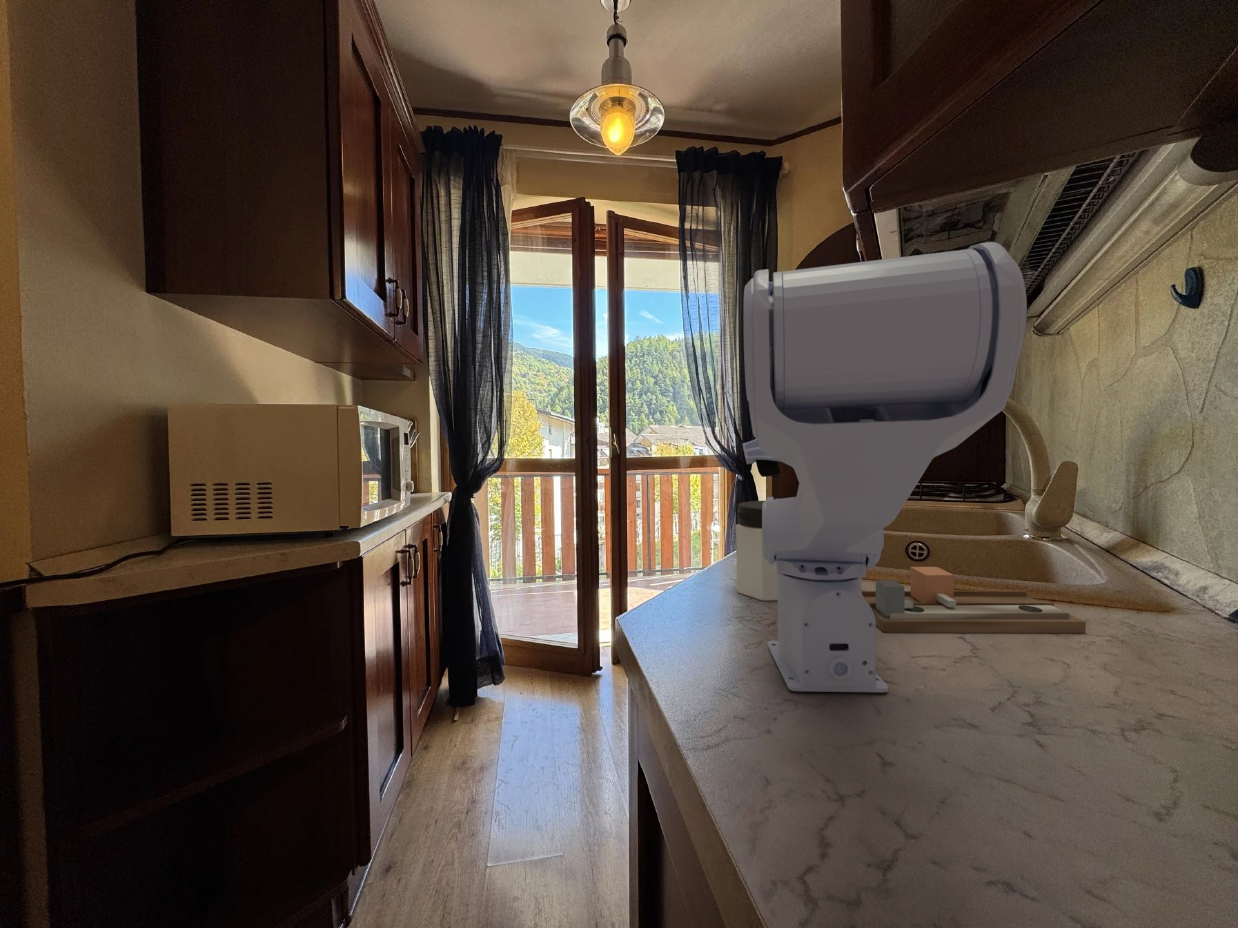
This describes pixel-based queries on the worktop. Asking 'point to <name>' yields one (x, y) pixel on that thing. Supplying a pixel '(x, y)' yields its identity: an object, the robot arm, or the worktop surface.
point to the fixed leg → (890, 598)
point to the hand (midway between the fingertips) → (804, 465)
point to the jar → (753, 555)
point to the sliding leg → (932, 585)
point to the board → (978, 615)
